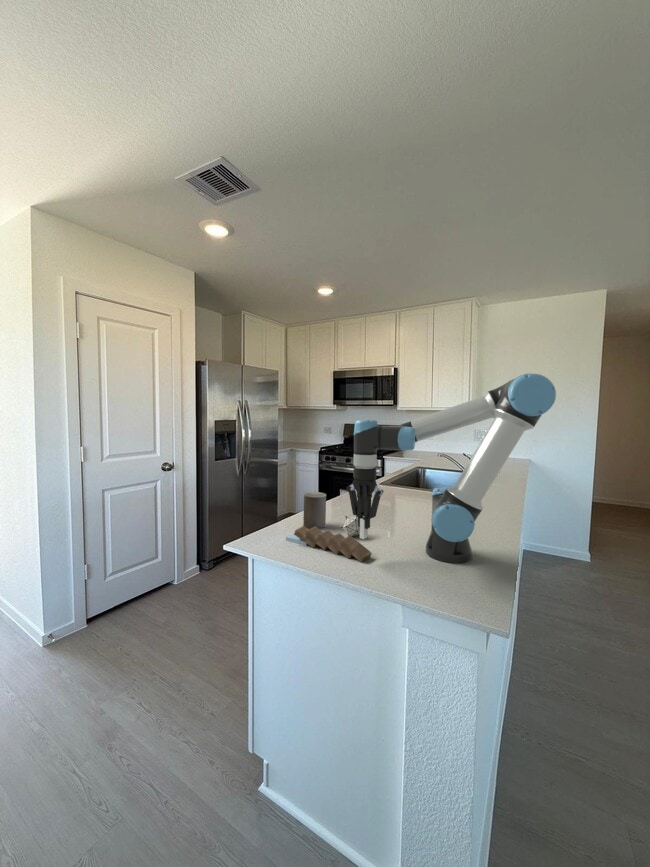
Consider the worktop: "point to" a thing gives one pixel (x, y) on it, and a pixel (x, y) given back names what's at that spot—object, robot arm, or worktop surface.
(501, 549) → the worktop surface
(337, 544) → the domino
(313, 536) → the domino
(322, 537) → the domino
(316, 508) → the pillar candle
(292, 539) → the domino
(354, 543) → the domino
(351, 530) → the game die
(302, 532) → the domino
